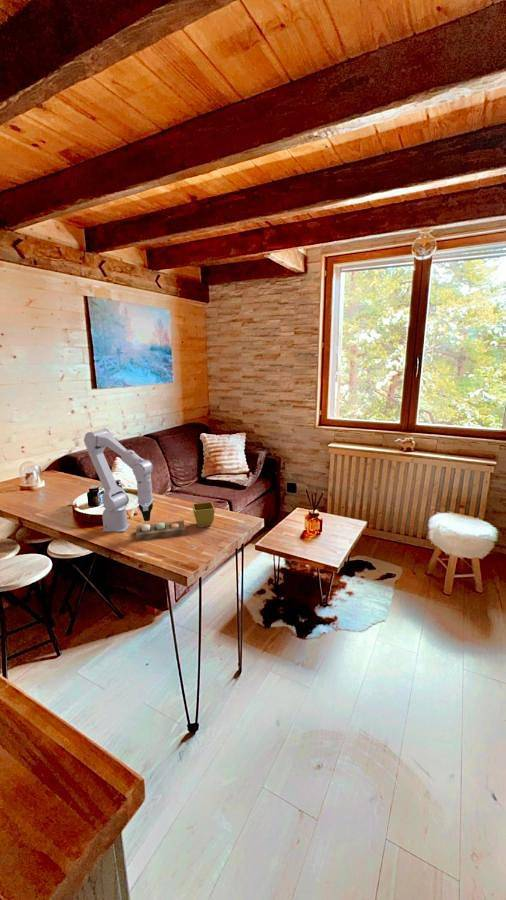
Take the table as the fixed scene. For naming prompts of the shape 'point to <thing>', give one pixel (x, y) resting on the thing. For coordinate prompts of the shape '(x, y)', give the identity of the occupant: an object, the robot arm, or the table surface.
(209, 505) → the flower pot
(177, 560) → the table surface
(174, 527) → the orange button
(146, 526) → the cream button
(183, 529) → the button board
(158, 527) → the sage button
